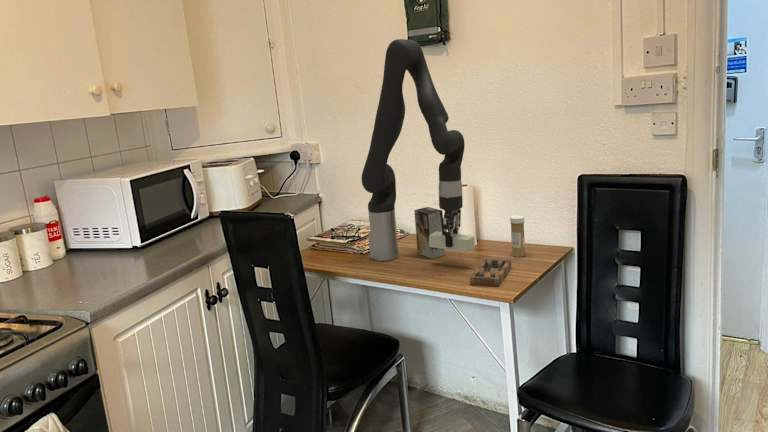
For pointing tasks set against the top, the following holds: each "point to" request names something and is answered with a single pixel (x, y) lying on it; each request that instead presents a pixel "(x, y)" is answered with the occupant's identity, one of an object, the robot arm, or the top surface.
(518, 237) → the sprinkles bottle
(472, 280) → the peg frame
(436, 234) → the pale green block
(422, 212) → the coffee box
